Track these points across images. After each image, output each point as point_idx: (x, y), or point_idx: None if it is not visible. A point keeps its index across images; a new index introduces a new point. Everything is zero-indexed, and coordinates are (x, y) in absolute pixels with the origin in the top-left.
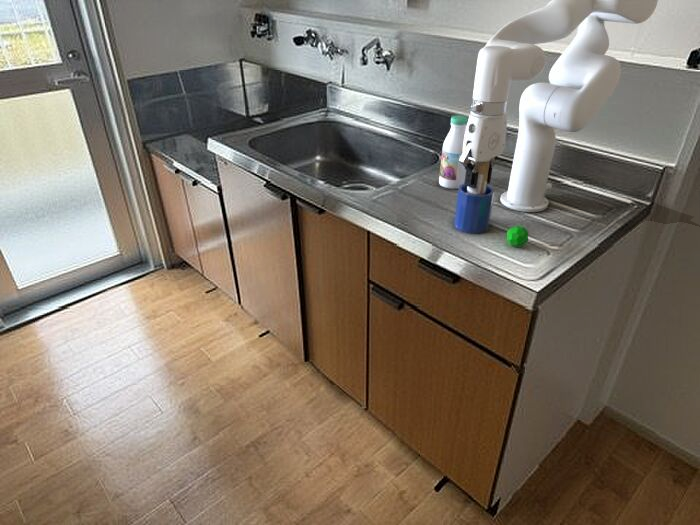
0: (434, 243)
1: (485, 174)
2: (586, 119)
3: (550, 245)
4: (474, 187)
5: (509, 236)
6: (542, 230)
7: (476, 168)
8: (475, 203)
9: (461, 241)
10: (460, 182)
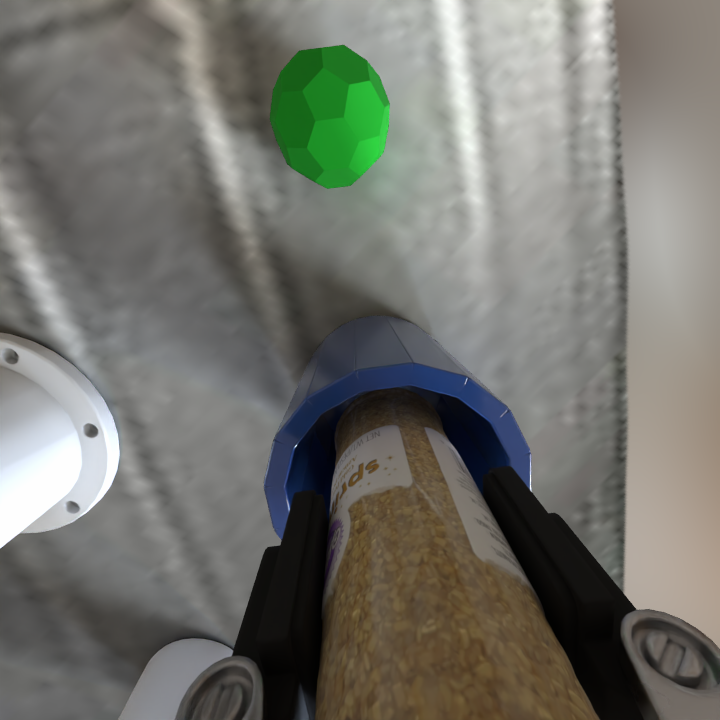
0: (612, 345)
1: (436, 550)
2: None
3: (177, 37)
4: (512, 471)
5: (384, 129)
6: (108, 183)
7: (679, 693)
8: (476, 379)
9: (511, 302)
10: (184, 664)
